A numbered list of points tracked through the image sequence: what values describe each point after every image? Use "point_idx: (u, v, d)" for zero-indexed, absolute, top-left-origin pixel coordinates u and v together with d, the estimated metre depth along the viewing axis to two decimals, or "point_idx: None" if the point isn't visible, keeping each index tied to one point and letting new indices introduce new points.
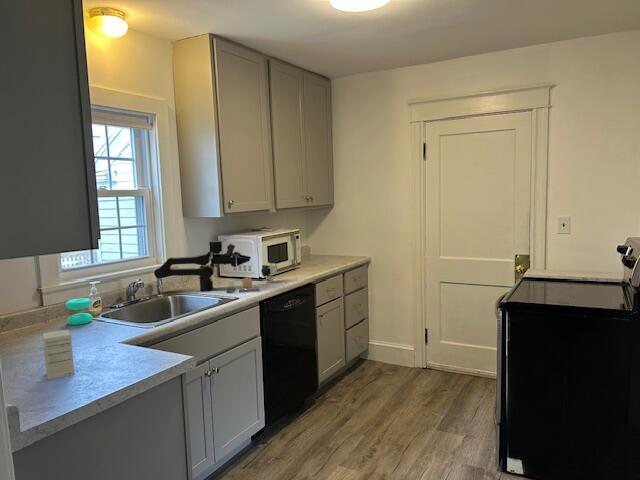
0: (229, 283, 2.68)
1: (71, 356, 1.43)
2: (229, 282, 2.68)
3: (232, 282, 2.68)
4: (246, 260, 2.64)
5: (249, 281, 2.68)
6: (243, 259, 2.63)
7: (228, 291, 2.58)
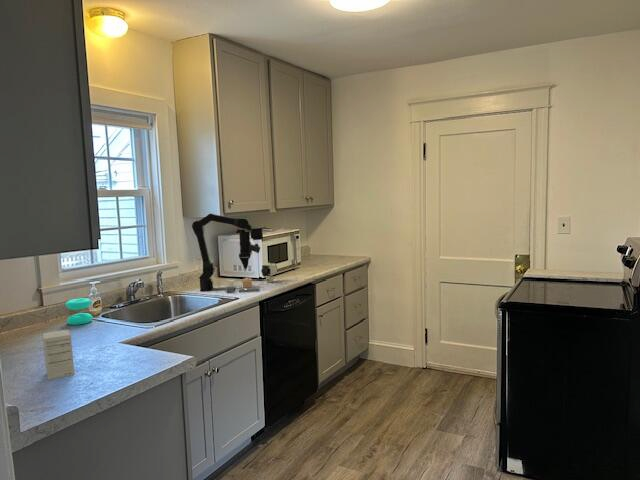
0: (229, 283, 2.68)
1: (71, 356, 1.43)
2: (229, 282, 2.68)
3: (232, 282, 2.68)
4: (245, 266, 2.64)
5: (249, 281, 2.68)
6: (246, 263, 2.63)
7: (228, 291, 2.58)
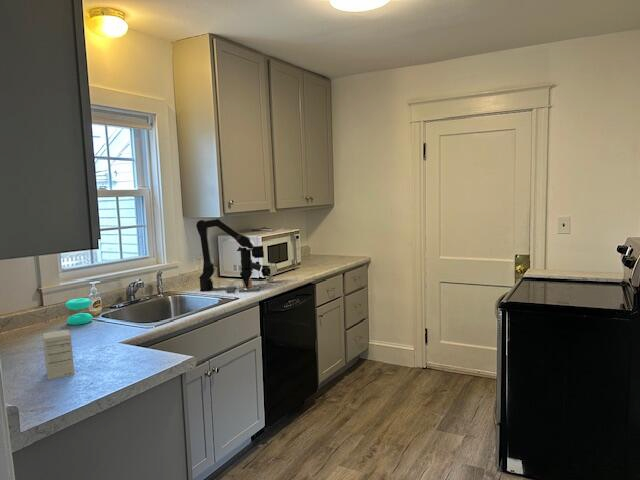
0: (229, 283, 2.68)
1: (71, 356, 1.43)
2: (229, 282, 2.68)
3: (232, 282, 2.68)
4: (246, 283, 2.67)
5: (249, 281, 2.68)
6: (247, 281, 2.66)
7: (228, 291, 2.58)
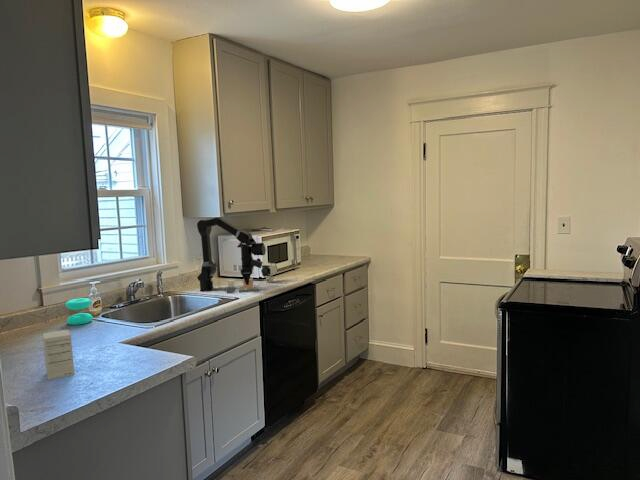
0: (229, 283, 2.68)
1: (71, 356, 1.43)
2: (229, 282, 2.68)
3: (232, 282, 2.68)
4: (246, 281, 2.57)
5: (250, 281, 2.60)
6: (247, 279, 2.56)
7: (228, 291, 2.58)
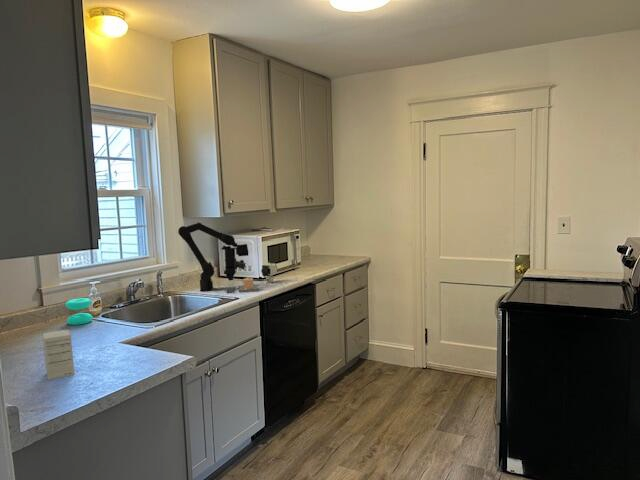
0: (229, 283, 2.67)
1: (71, 356, 1.43)
2: (229, 282, 2.67)
3: (232, 282, 2.67)
4: None
5: (250, 281, 2.60)
6: (231, 278, 2.70)
7: (228, 291, 2.58)
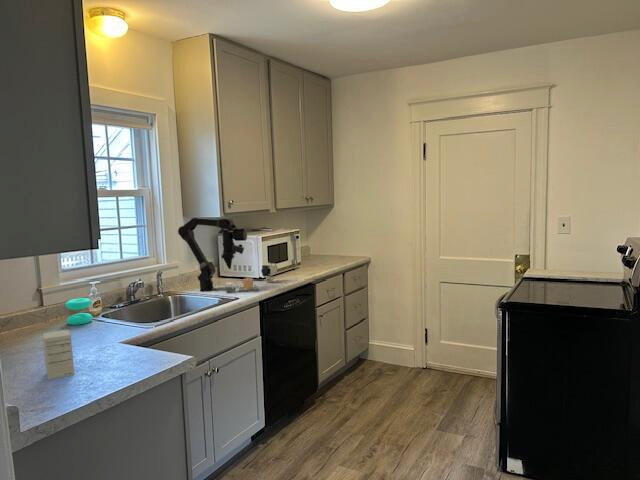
0: (227, 286, 2.59)
1: (71, 356, 1.43)
2: (227, 285, 2.59)
3: (231, 285, 2.59)
4: (228, 266, 2.63)
5: (250, 281, 2.60)
6: (229, 263, 2.63)
7: (228, 291, 2.58)
